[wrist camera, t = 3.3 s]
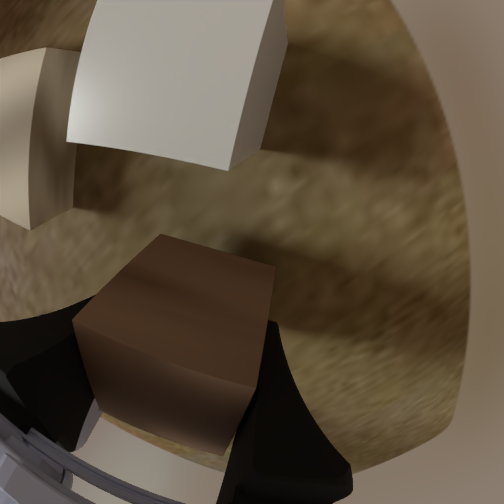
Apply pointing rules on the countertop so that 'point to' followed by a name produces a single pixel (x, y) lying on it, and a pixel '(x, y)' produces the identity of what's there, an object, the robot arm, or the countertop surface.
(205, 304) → the walnut block
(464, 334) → the countertop surface
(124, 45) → the off-white block
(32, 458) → the robot arm
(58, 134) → the birch base block
